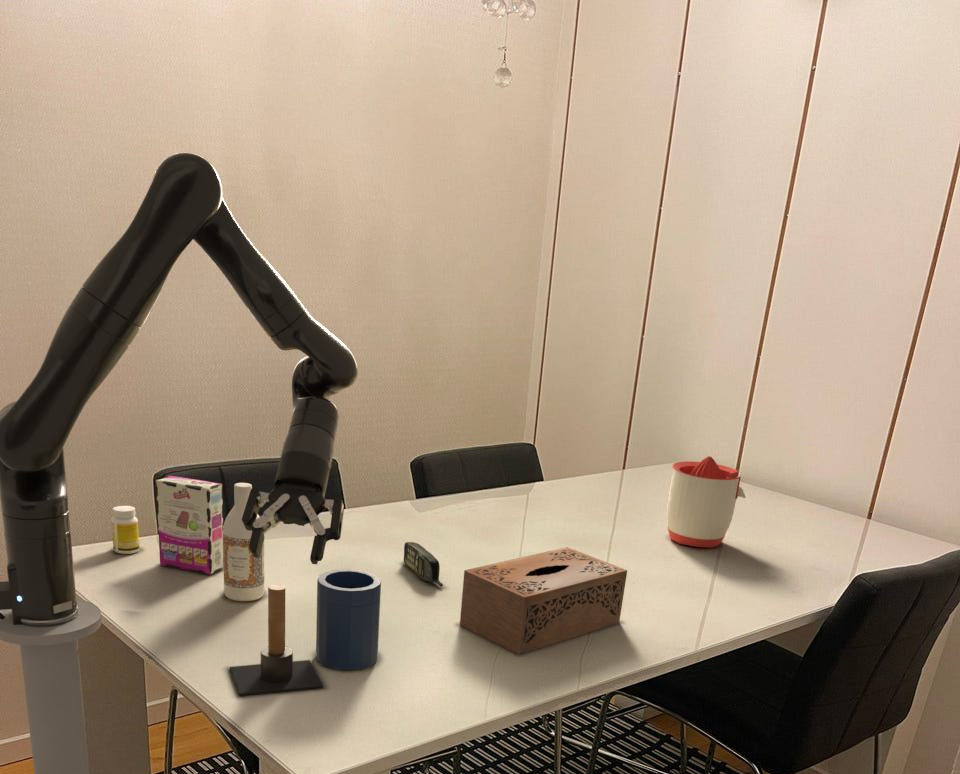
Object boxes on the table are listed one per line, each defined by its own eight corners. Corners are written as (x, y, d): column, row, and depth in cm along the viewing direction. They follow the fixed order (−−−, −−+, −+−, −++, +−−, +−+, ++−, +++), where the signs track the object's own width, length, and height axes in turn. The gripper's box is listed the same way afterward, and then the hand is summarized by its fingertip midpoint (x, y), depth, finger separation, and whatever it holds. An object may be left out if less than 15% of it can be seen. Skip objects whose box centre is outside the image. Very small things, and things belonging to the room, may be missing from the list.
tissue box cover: (518, 654, 158) (524, 597, 154) (459, 624, 167) (464, 570, 163) (619, 622, 174) (627, 570, 170) (560, 597, 184) (567, 547, 180)
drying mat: (239, 696, 136) (239, 693, 136) (229, 669, 144) (229, 666, 144) (323, 688, 141) (323, 685, 141) (309, 662, 148) (309, 660, 148)
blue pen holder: (324, 673, 145) (326, 592, 140) (310, 647, 153) (311, 570, 148) (384, 667, 149) (388, 588, 144) (367, 643, 157) (370, 567, 152)
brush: (263, 684, 140) (263, 593, 134) (258, 670, 143) (257, 582, 138) (295, 681, 141) (296, 591, 136) (289, 668, 145) (289, 580, 140)
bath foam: (218, 599, 168) (215, 487, 160) (231, 586, 175) (229, 477, 167) (257, 604, 168) (256, 492, 160) (269, 590, 174) (269, 481, 166)
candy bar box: (225, 568, 183) (224, 483, 176) (211, 575, 179) (209, 489, 172) (173, 557, 186) (170, 473, 179) (158, 565, 181) (154, 479, 175)
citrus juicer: (738, 556, 217) (756, 469, 209) (661, 546, 219) (675, 459, 211) (733, 536, 232) (749, 454, 224) (660, 527, 234) (673, 445, 226)
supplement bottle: (144, 550, 188) (142, 508, 185) (125, 556, 184) (122, 513, 181) (127, 544, 190) (125, 503, 187) (108, 550, 186) (105, 508, 183)
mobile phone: (401, 540, 192) (433, 563, 180) (415, 539, 193) (447, 561, 181) (400, 564, 194) (431, 588, 182) (414, 563, 195) (446, 587, 183)
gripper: (253, 444, 143) (230, 541, 137) (349, 454, 142) (329, 552, 136) (264, 471, 149) (242, 564, 144) (355, 480, 149) (336, 575, 143)
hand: (284, 558), depth 140 cm, fingers open, 8 cm apart
